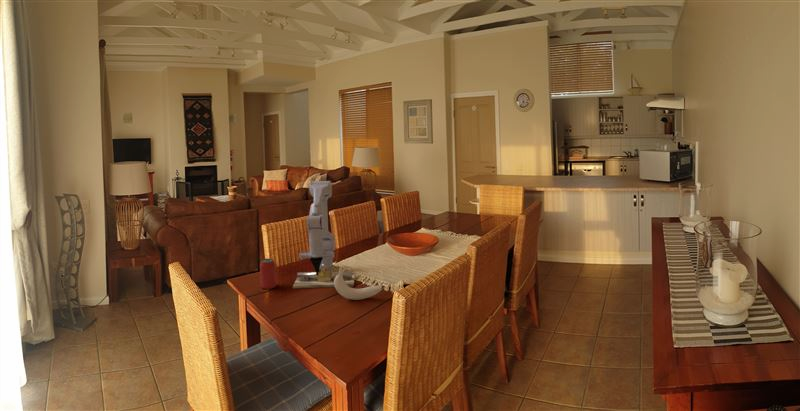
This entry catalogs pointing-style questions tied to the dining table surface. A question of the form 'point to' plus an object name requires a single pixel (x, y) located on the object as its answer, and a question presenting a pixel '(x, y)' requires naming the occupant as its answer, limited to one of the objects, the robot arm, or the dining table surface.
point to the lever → (322, 269)
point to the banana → (351, 292)
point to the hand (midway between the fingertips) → (317, 274)
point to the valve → (327, 275)
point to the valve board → (321, 283)
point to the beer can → (268, 273)
